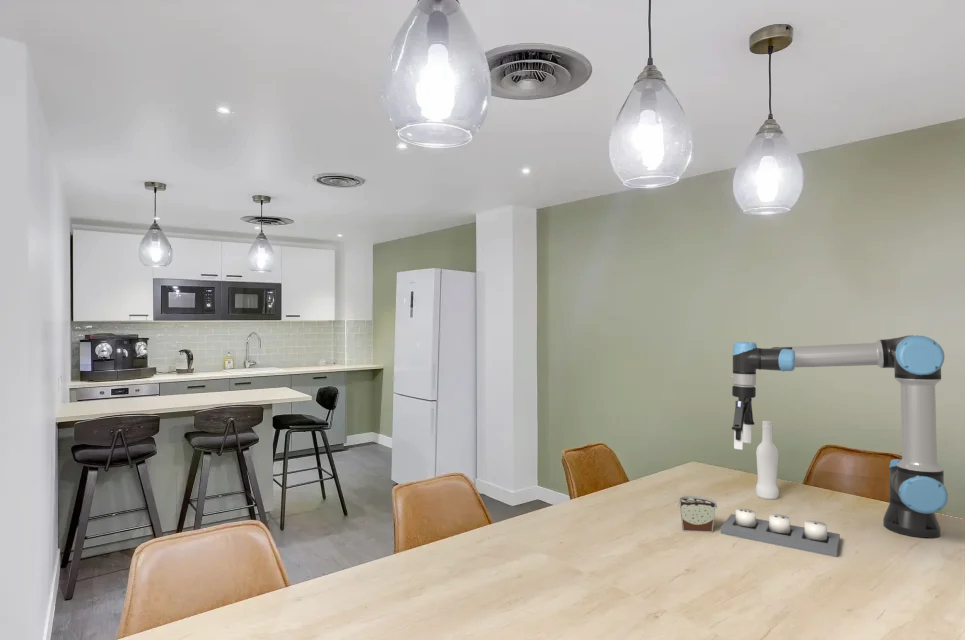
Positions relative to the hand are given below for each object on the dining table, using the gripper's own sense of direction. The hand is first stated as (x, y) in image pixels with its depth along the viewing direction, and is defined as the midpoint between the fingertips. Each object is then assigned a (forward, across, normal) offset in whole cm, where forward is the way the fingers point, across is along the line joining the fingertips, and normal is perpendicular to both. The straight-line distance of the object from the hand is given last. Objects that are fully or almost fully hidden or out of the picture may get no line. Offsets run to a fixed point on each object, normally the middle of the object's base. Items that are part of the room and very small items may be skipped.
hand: (743, 445), depth 201 cm
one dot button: (+23, +13, +24) cm, 35 cm away
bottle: (+25, -32, +3) cm, 40 cm away
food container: (+25, +22, -10) cm, 35 cm away
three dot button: (+23, +14, +4) cm, 27 cm away
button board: (+25, +13, +14) cm, 31 cm away
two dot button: (+23, +13, +14) cm, 30 cm away
